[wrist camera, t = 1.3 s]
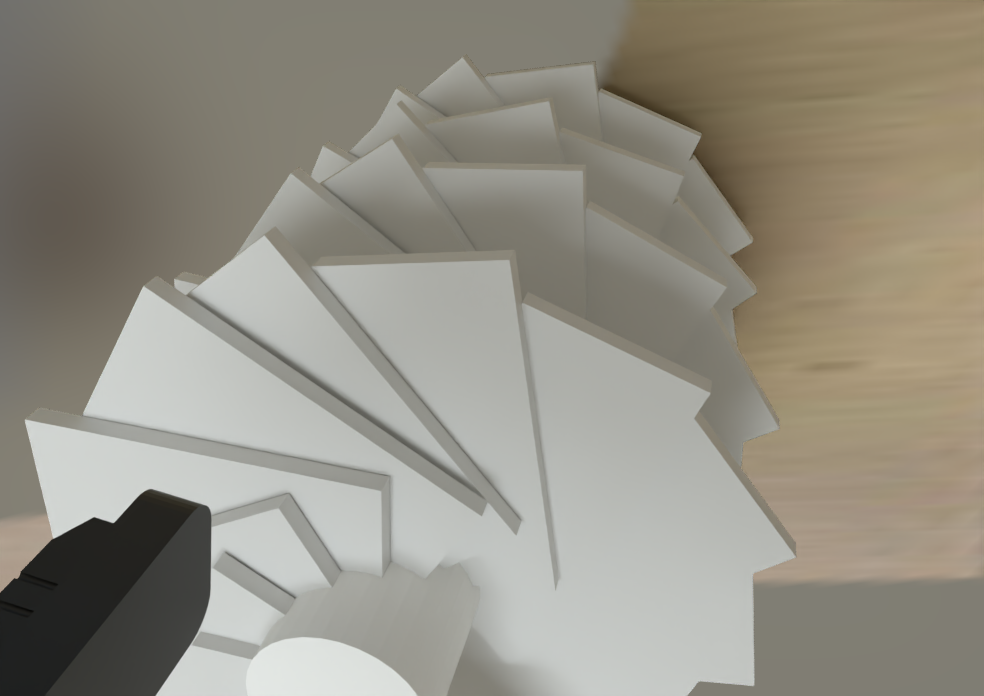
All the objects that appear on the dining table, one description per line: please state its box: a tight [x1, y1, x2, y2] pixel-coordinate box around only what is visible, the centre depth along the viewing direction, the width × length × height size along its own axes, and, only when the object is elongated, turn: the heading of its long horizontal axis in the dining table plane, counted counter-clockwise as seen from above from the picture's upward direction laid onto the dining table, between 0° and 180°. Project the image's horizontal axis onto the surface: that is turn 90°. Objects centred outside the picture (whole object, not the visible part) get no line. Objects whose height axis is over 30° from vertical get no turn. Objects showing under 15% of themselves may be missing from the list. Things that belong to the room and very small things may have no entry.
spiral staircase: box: [25, 55, 796, 696], centre depth 30 cm, size 18×18×25 cm
